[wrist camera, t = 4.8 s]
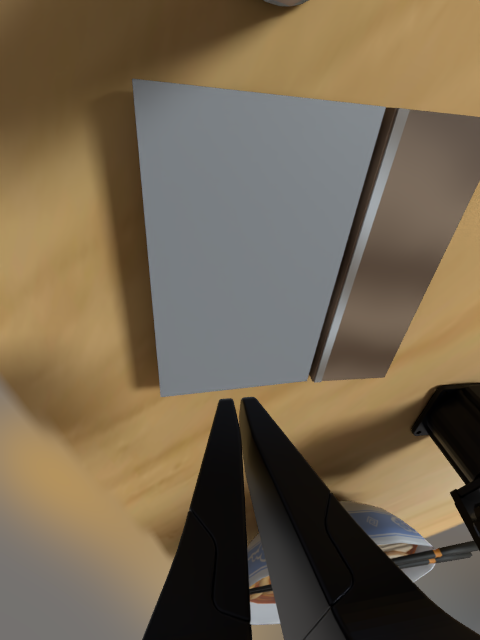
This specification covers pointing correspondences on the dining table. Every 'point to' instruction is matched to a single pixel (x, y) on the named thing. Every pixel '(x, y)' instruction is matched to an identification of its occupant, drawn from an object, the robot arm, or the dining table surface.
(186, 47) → the dining table surface
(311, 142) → the grey tile
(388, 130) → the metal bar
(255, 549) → the ramen bowl
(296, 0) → the grey can
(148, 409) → the dining table surface
